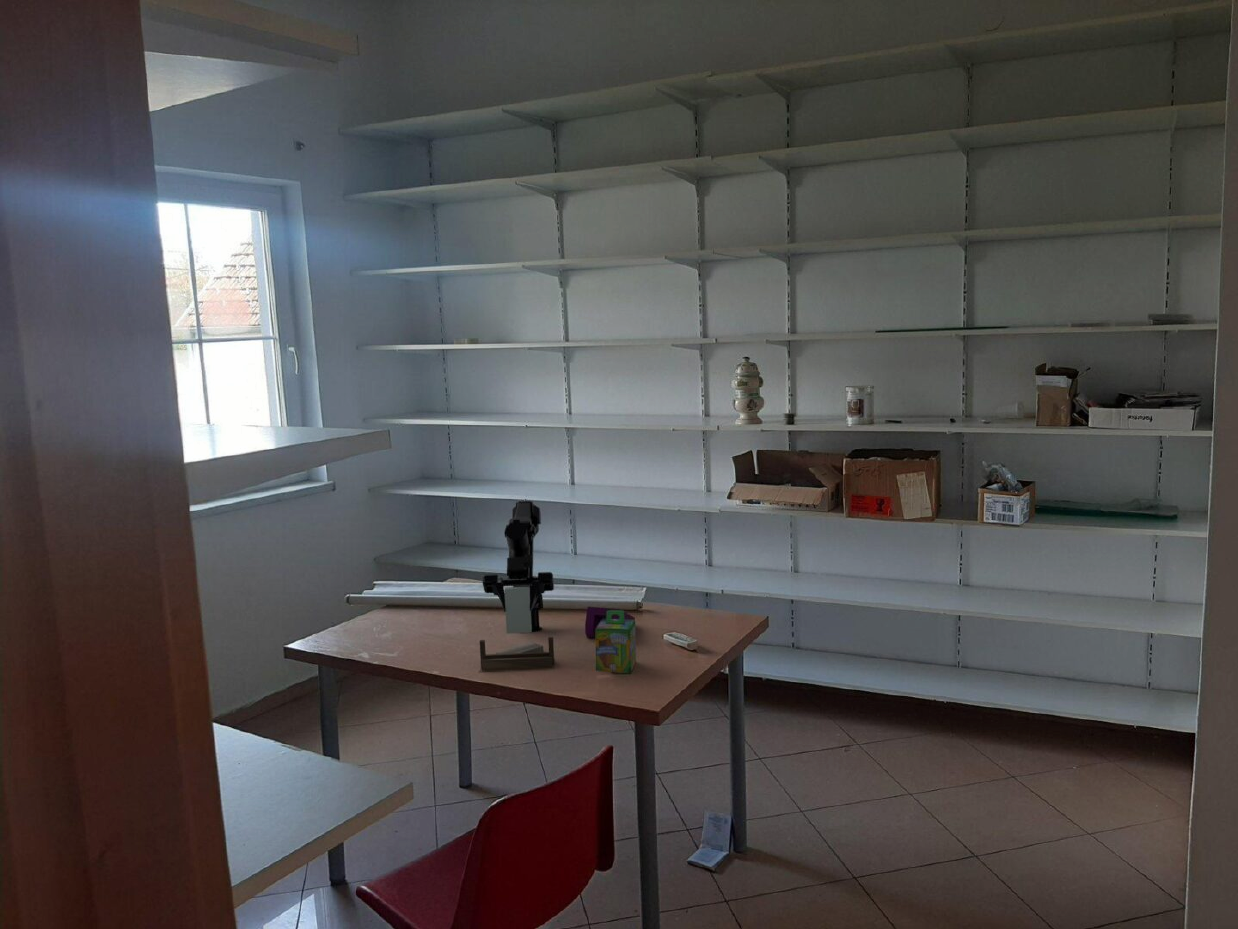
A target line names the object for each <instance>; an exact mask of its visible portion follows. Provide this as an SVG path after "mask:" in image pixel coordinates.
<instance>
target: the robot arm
mask: <svg viewBox="0 0 1238 929" xmlns="http://www.w3.org/2000/svg"><path fill="white" fill-rule="evenodd" d="M540 525H542V515H541V509H540V507H539V506H537V505H536V504H534V502H533V501H532V500H519V501H516V502H515V506H514V507H513V508H512V517H511V518H510V519H509V520H508V523H507V524H506V525H505V529H504V538H506V542H507V547H508V557H507V558H506V576H507V578H503V577H499V574H497V573H494V574H493V573H491V574H490V573H489V574H484V575H483V577H482V581H481V583H482V586H483V591H484V593H485V594H493V595H494V596H497V597H498V599H499V600H500V603H501V606H502V609H503V612H505V613H506V608H505V590H504V589H505V587H528V586H530V611H531V625H532V631H531V633H532V632H536V631H540V630H543V628H542V626H540V611H541V610H542V609H544V599H543V594H545V592H552V591H554V590H555V582H554V574H553V573H552V572H551V571H544V572H540V571H539V572H538V573H537V577H534V540H535V537H536V535H537V534H538V533H539V530H540V528H539V527H540Z"/></svg>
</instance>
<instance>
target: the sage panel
mask: <svg viewBox="0 0 1238 929" xmlns="http://www.w3.org/2000/svg"><path fill="white" fill-rule="evenodd" d="M504 593H505V608H506V612H505V626H506V627H505V628H506V630H505V631H506V634H525V633H526V634H529V633H532V632H533V631H532V625H531V611H530V586H528V587H513V586H504ZM531 631H532V632H531Z"/></svg>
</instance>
